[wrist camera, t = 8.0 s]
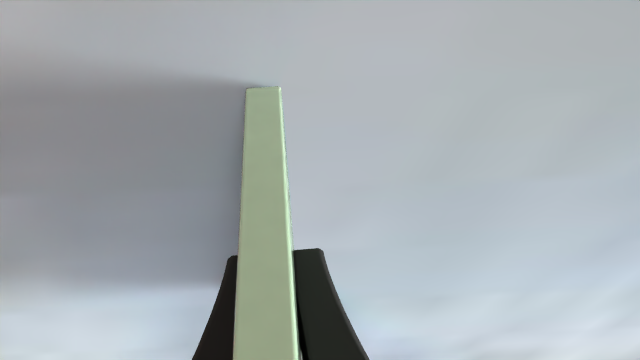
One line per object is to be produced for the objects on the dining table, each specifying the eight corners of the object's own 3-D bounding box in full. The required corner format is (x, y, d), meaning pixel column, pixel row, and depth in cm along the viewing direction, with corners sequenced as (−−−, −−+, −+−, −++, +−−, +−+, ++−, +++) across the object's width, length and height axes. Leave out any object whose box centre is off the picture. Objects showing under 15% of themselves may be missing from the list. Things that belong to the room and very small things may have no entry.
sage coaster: (296, 282, 15) (317, 573, 10) (272, 284, 15) (279, 577, 10) (280, 84, 10) (303, 446, 5) (245, 87, 10) (226, 454, 5)
